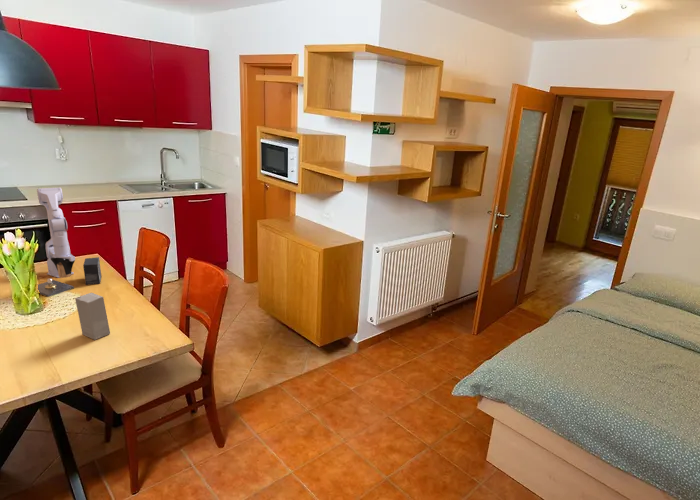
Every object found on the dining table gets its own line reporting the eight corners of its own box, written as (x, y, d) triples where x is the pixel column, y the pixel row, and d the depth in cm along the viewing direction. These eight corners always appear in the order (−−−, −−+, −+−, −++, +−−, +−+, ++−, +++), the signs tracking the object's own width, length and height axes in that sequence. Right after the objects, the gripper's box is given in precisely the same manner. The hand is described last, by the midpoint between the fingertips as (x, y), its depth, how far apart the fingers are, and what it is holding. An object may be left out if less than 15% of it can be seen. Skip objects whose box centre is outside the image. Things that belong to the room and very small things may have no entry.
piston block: (27, 289, 203) (25, 279, 202) (53, 281, 214) (52, 272, 212) (48, 296, 198) (46, 286, 196) (74, 288, 208) (72, 278, 207)
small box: (87, 277, 221) (84, 257, 218) (101, 276, 224) (99, 256, 221) (85, 285, 212) (82, 264, 209) (100, 283, 215) (98, 263, 212)
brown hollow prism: (56, 276, 203) (54, 264, 201) (66, 273, 207) (65, 261, 206) (63, 278, 201) (61, 266, 200) (73, 275, 206) (71, 263, 204)
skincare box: (110, 334, 170) (106, 296, 165) (92, 341, 164) (87, 302, 159) (97, 328, 174) (93, 290, 169) (79, 335, 168) (74, 296, 163)
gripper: (41, 244, 199) (45, 272, 203) (62, 249, 194) (66, 278, 198) (57, 240, 205) (60, 267, 209) (78, 246, 200) (81, 274, 204)
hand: (64, 272), depth 204 cm, fingers closed on brown hollow prism, 5 cm apart
